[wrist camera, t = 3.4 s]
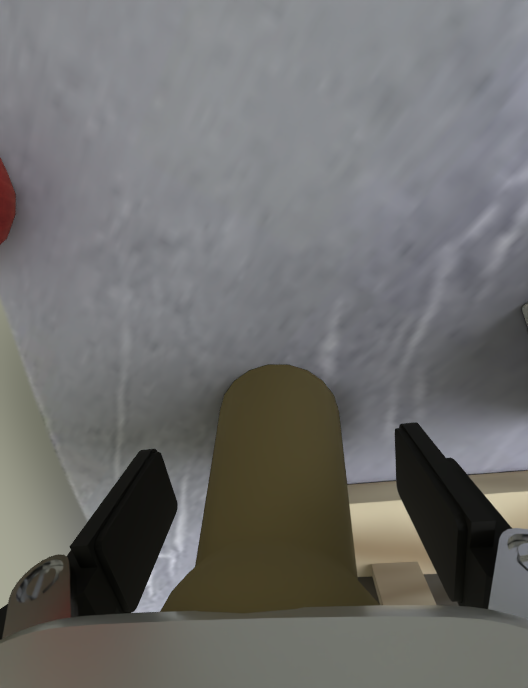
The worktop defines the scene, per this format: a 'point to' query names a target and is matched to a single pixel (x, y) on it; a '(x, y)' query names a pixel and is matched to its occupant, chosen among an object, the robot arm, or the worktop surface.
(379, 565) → the board
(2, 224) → the onion
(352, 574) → the cork
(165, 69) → the worktop surface
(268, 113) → the worktop surface
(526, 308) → the coffee box
